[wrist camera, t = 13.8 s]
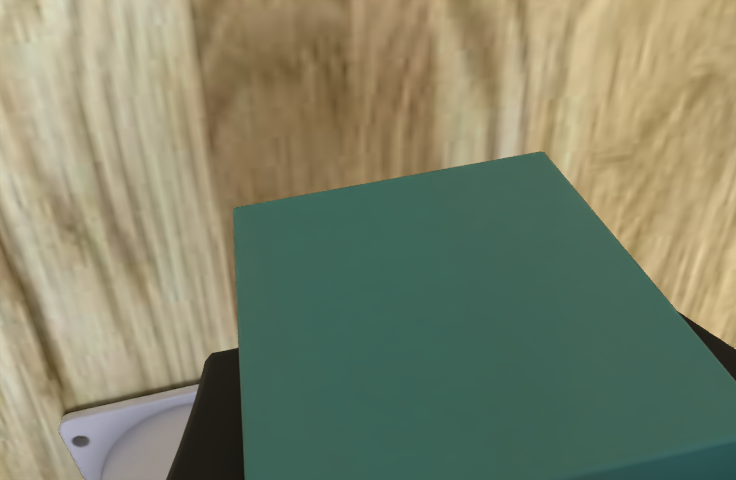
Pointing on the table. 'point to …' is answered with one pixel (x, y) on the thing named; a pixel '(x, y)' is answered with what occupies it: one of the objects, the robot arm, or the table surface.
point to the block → (465, 338)
